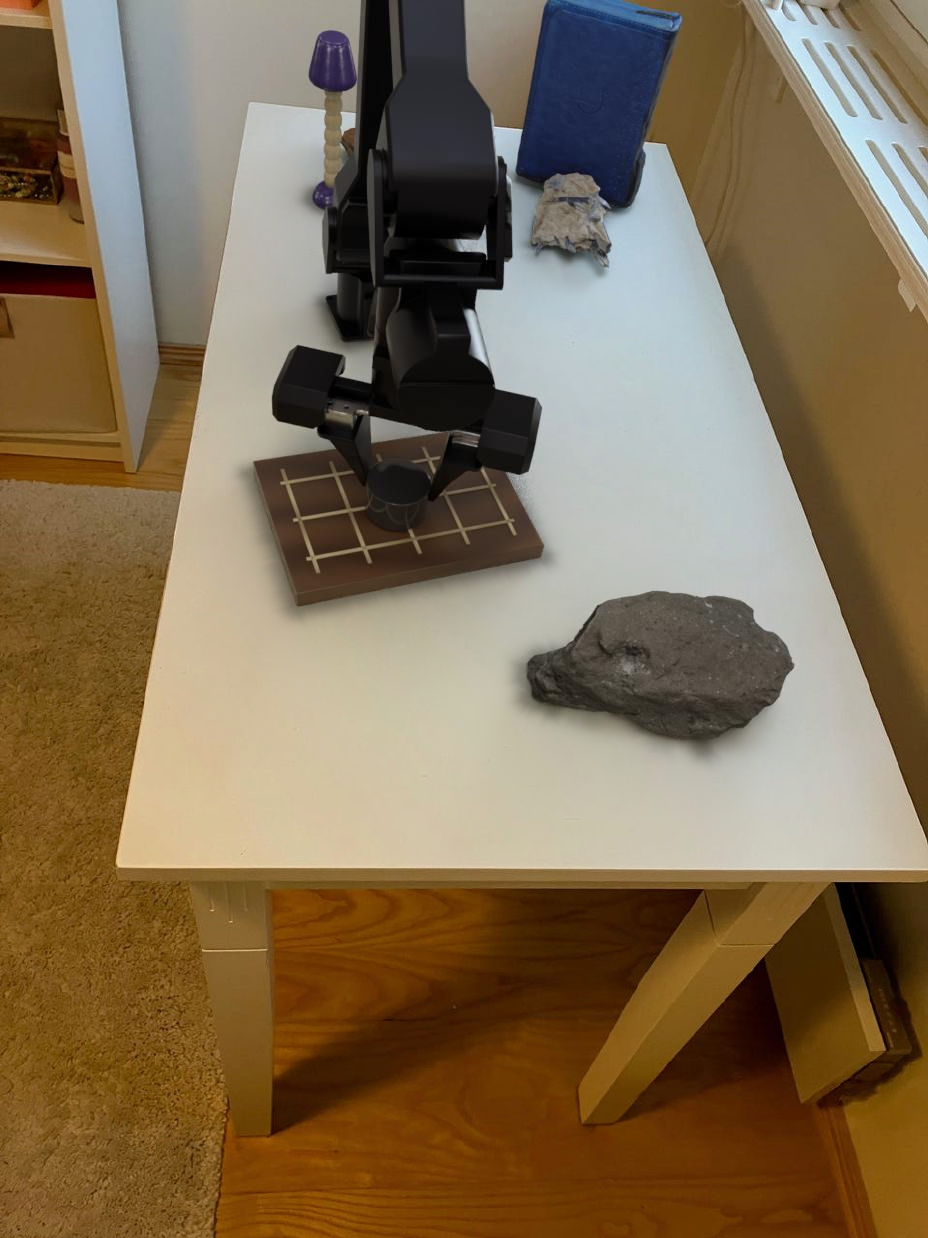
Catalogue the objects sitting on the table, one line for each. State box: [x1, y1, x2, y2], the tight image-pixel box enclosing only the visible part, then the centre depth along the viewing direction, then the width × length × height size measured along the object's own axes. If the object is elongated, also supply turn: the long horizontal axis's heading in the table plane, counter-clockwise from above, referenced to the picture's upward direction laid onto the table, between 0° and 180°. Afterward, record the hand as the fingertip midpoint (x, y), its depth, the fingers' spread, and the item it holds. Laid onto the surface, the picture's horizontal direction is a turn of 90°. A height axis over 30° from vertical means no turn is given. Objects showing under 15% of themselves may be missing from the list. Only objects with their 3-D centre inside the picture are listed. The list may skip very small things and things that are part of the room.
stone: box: [526, 590, 795, 740], centre depth 68 cm, size 18×9×10 cm
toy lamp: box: [308, 29, 358, 211], centre depth 97 cm, size 5×5×17 cm
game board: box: [252, 431, 545, 607], centre depth 77 cm, size 14×20×2 cm
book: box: [515, 0, 683, 209], centre depth 103 cm, size 14×5×20 cm, turn 73°
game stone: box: [364, 459, 431, 531], centre depth 75 cm, size 5×5×3 cm
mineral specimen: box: [531, 173, 613, 268], centre depth 104 cm, size 15×8×4 cm, turn 175°
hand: (399, 490), depth 76 cm, fingers closed on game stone, 5 cm apart
